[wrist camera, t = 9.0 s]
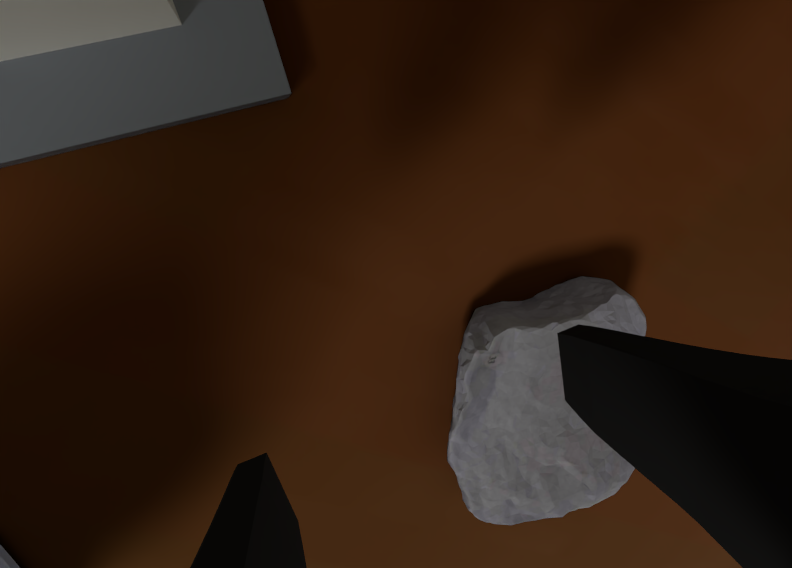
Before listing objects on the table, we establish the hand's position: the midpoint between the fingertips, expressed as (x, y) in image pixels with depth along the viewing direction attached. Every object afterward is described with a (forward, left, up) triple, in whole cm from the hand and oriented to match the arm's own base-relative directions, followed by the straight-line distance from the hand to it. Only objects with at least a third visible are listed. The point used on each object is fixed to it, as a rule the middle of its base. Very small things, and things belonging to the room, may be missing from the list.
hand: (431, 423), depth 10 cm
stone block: (+7, -9, -10) cm, 15 cm away
